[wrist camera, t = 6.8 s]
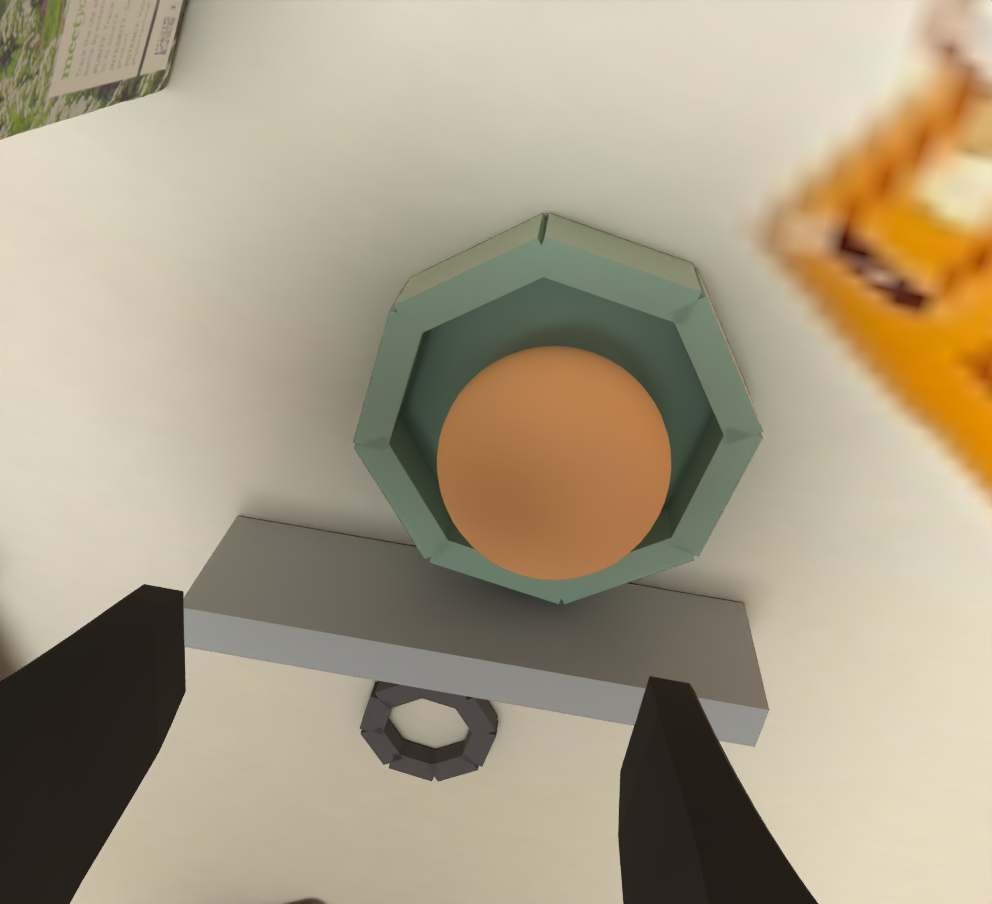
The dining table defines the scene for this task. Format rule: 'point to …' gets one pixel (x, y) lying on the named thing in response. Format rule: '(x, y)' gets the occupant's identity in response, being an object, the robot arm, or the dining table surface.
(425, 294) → the dish
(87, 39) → the syrup box
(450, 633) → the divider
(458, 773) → the ring
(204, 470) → the dining table surface
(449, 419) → the ball
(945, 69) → the dining table surface
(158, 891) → the dining table surface
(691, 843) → the robot arm
